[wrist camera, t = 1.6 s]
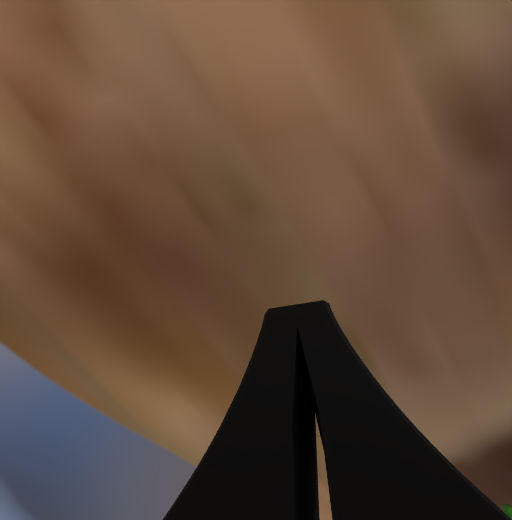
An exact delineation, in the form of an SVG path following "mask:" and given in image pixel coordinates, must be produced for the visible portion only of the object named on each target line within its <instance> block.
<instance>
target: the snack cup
mask: <svg viewBox="0 0 512 520" xmlns="http://www.w3.org/2000/svg"><path fill="white" fill-rule="evenodd" d="M503 506H504V513H505V514H506V515H507V516H509V517H510V518H511V519H512V507H511V506H510V505H509V504H504V505H503Z"/></svg>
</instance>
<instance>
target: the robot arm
mask: <svg viewBox="0 0 512 520" xmlns="http://www.w3.org/2000/svg"><path fill="white" fill-rule="evenodd" d="M315 414H316V419H317V423H318V427H319V432H320V436H321V440H322V444H323V449H324V454H325V462H326V470H327V478H328V486H329V494H330V502H331V511H332V519H333V520H512V519H511V518H510V517H509V516H507V515H506V514H505V513H504V512H503V511H502V510H501V509H500V508H499V507H498V506H496V505H495V504H494V503H493V502H492V501H491V500H490V499H489V498H488V497H487V496H485V495H484V494H483V493H482V492H481V491H480V490H479V489H478V488H477V487H476V486H474V485H473V484H472V483H471V482H470V481H469V480H468V479H467V478H466V477H465V476H463V475H462V474H461V473H460V472H459V471H458V470H457V469H456V468H455V467H454V466H453V465H452V464H451V463H450V462H449V461H448V460H447V459H446V458H445V457H444V456H443V455H442V454H441V453H440V452H439V451H438V450H437V449H436V448H435V447H434V446H433V445H432V444H431V443H430V441H429V440H428V439H427V438H426V437H425V436H424V435H423V434H422V433H421V432H420V431H419V430H418V429H417V428H416V427H415V425H414V424H413V423H412V422H411V421H410V420H409V419H408V418H407V417H406V415H405V414H404V413H403V412H402V411H401V410H400V409H399V407H398V406H397V405H396V404H395V403H394V401H393V400H392V399H391V398H390V397H389V395H388V394H387V393H386V392H385V390H384V389H383V388H382V387H381V386H380V384H379V383H378V382H377V380H376V379H375V378H374V377H373V375H372V374H371V373H370V371H369V370H368V368H367V367H366V366H365V364H364V363H363V361H362V360H361V359H360V357H359V356H358V354H357V353H356V352H355V350H354V349H353V347H352V346H351V344H350V343H349V341H348V339H347V338H346V336H345V335H344V333H343V331H342V330H341V328H340V326H339V324H338V323H337V321H336V319H335V317H334V315H333V312H332V310H331V308H330V305H329V303H327V302H326V301H324V300H322V301H316V302H310V303H303V304H297V305H290V306H284V307H278V308H271V309H268V311H267V312H266V313H265V316H264V320H263V324H262V328H261V331H260V334H259V337H258V340H257V343H256V346H255V349H254V352H253V354H252V357H251V360H250V362H249V364H248V367H247V369H246V372H245V374H244V377H243V379H242V382H241V384H240V386H239V388H238V391H237V393H236V395H235V397H234V399H233V401H232V403H231V405H230V407H229V409H228V411H227V413H226V416H225V418H224V420H223V422H222V424H221V426H220V427H219V429H218V431H217V433H216V435H215V437H214V439H213V440H212V442H211V444H210V446H209V448H208V449H207V451H206V453H205V454H204V456H203V458H202V460H201V461H200V463H199V465H198V466H197V468H196V470H195V471H194V473H193V475H192V476H191V478H190V479H189V481H188V482H187V484H186V485H185V487H184V489H183V490H182V492H181V493H180V495H179V496H178V498H177V499H176V501H175V502H174V504H173V506H172V507H171V508H170V510H169V511H168V513H167V514H166V516H165V517H164V519H163V520H320V519H319V499H318V473H317V448H316V424H315Z"/></svg>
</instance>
